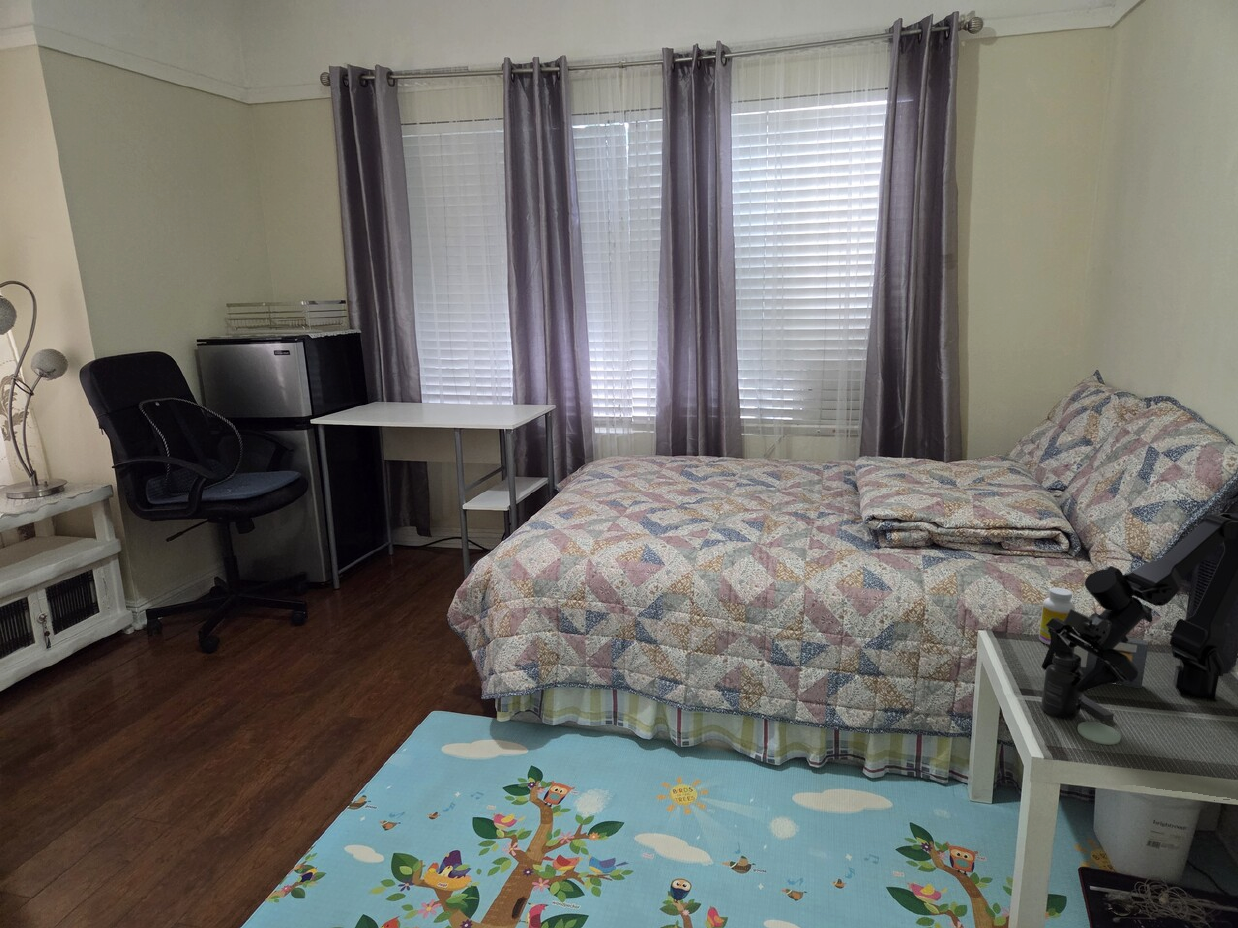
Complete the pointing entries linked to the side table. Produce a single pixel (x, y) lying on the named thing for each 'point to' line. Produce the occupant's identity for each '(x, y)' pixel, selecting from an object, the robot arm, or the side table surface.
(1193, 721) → the side table surface
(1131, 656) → the paddle main
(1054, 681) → the supplement bottle
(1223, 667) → the robot arm
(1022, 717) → the side table surface
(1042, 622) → the supplement bottle
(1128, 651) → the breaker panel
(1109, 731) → the pad
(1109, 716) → the dark grey slat
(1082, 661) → the paddle
